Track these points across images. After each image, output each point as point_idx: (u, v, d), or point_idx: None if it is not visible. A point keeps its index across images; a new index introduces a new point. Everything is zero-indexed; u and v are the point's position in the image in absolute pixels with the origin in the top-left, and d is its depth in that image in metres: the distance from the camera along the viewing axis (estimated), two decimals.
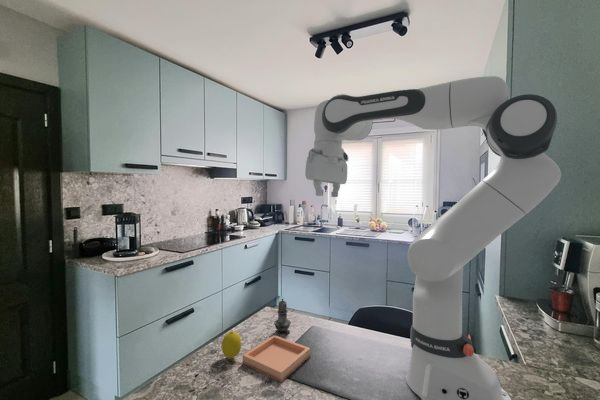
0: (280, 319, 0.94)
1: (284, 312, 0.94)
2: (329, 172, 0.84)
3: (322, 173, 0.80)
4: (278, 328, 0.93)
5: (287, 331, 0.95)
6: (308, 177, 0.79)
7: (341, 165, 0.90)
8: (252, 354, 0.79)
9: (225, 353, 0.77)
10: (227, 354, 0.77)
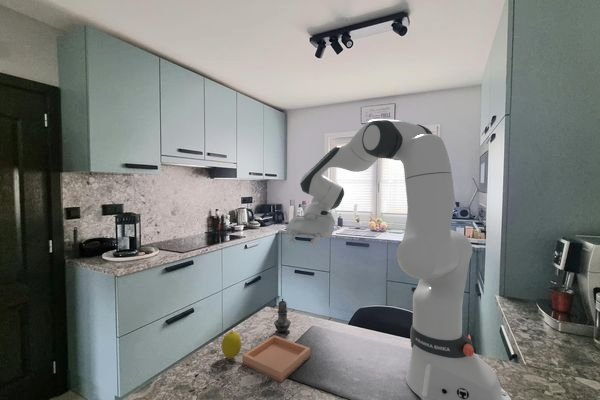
0: (280, 319, 0.94)
1: (284, 312, 0.94)
2: (303, 225, 1.10)
3: (294, 226, 1.12)
4: (278, 328, 0.93)
5: (287, 331, 0.95)
6: None
7: (322, 220, 1.08)
8: (252, 354, 0.79)
9: (225, 353, 0.77)
10: (227, 354, 0.77)
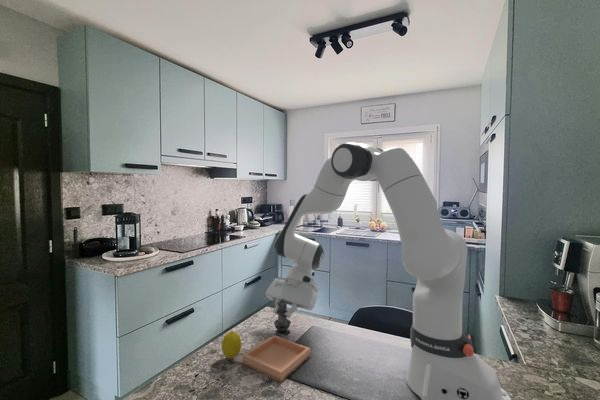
0: (280, 319, 0.94)
1: (284, 312, 0.94)
2: (284, 292, 0.99)
3: (274, 292, 1.01)
4: (278, 328, 0.93)
5: (287, 331, 0.95)
6: None
7: (304, 288, 0.97)
8: (252, 354, 0.79)
9: (225, 353, 0.77)
10: (227, 354, 0.77)
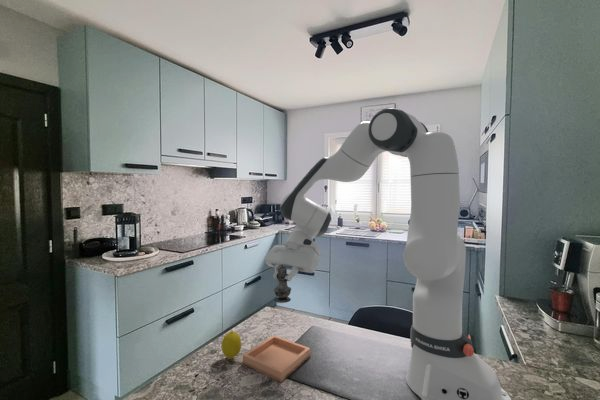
0: (280, 285, 0.89)
1: (284, 278, 0.89)
2: (284, 257, 0.94)
3: (273, 257, 0.96)
4: (278, 294, 0.88)
5: (288, 298, 0.90)
6: None
7: (305, 251, 0.92)
8: (252, 354, 0.79)
9: (225, 353, 0.77)
10: (227, 354, 0.77)
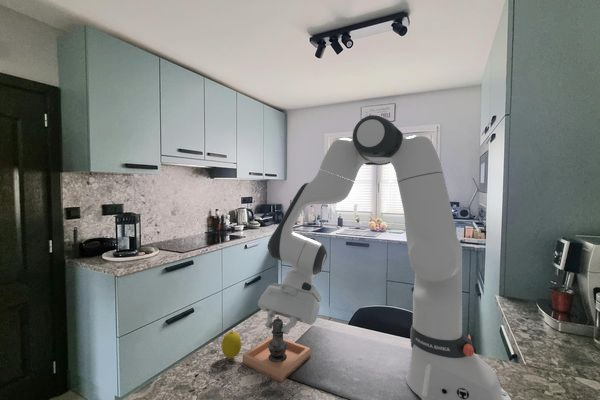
0: (275, 341, 0.78)
1: (280, 333, 0.78)
2: (279, 302, 0.83)
3: (268, 301, 0.85)
4: (272, 352, 0.77)
5: (283, 355, 0.79)
6: None
7: (303, 297, 0.80)
8: (252, 354, 0.79)
9: (225, 353, 0.77)
10: (227, 354, 0.77)
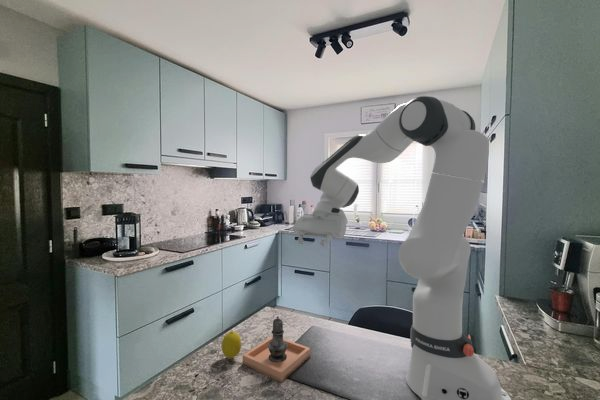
0: (275, 341, 0.78)
1: (280, 333, 0.78)
2: (312, 224, 0.99)
3: (301, 225, 1.01)
4: (272, 352, 0.77)
5: (283, 355, 0.79)
6: None
7: (333, 219, 0.96)
8: (252, 354, 0.79)
9: (225, 353, 0.77)
10: (227, 354, 0.77)
